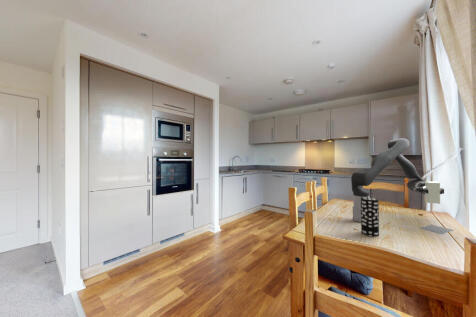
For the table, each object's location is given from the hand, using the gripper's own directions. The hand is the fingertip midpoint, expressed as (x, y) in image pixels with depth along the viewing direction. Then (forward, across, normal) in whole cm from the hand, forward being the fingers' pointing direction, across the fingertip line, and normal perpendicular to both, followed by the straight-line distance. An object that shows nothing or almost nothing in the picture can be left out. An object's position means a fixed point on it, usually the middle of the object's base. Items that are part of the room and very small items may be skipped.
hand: (434, 192), depth 111 cm
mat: (-3, +2, +23) cm, 23 cm away
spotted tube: (+21, -32, +23) cm, 45 cm away
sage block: (-3, 0, +6) cm, 7 cm away
